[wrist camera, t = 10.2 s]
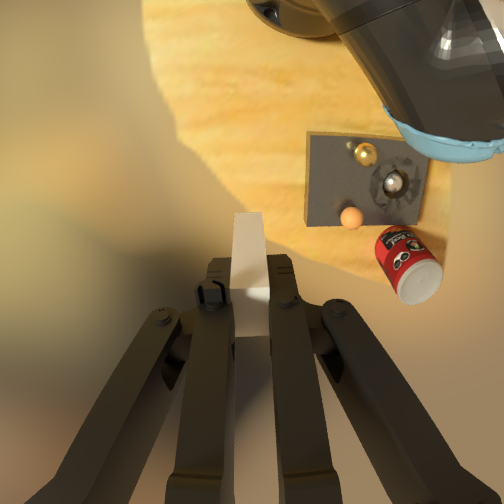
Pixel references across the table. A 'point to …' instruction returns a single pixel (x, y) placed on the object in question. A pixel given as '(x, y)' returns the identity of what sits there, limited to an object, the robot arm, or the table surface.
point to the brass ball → (365, 154)
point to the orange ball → (351, 218)
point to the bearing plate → (361, 180)
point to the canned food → (408, 265)
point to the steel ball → (393, 182)
